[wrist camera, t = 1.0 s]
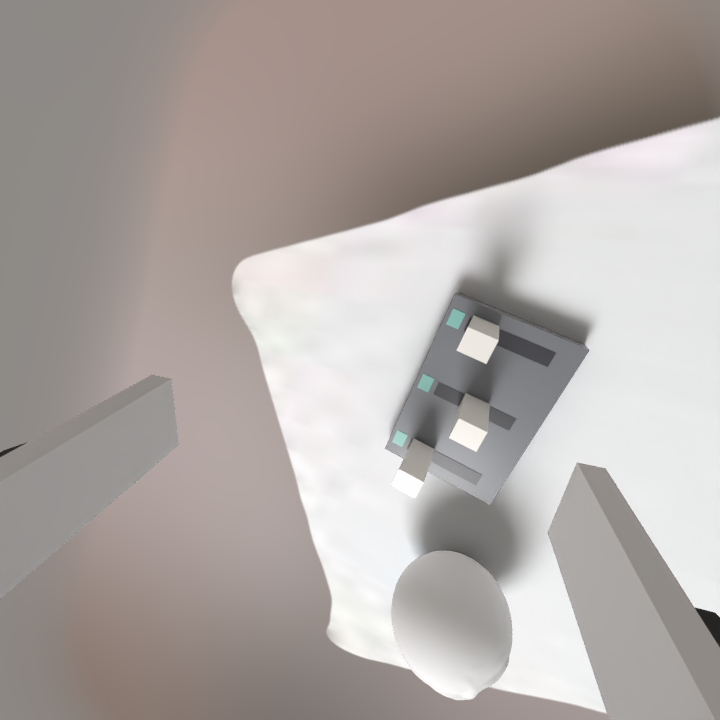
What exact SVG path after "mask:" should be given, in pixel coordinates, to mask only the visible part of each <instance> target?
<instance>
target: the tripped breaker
mask: <svg viewBox="0 0 720 720" xmlns="http://www.w3.org/2000/svg"><path fill="white" fill-rule="evenodd" d="M489 410H490V404H488V403H486V402H484V401H482V400H480V399H478V398H475V397H473V396H471V395H469V394H467V393H466V394H465V396H464V397H463V399H462V401H461V403H460V405H459V407H458V409H457V411H456V415H455V418H454V421H453V425H452V428H451V432H450V435H449V438H450V439H452V440H454V441H456V442H458V443H459V444H461V445H463V446H465V447H467V448H469V449H471V450H473V451H475V452H477V450H478V448H479V446H480V445H481V443H482V441H483V439H484V438H485V436H486V434H487V433H488V422H489Z"/></svg>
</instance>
